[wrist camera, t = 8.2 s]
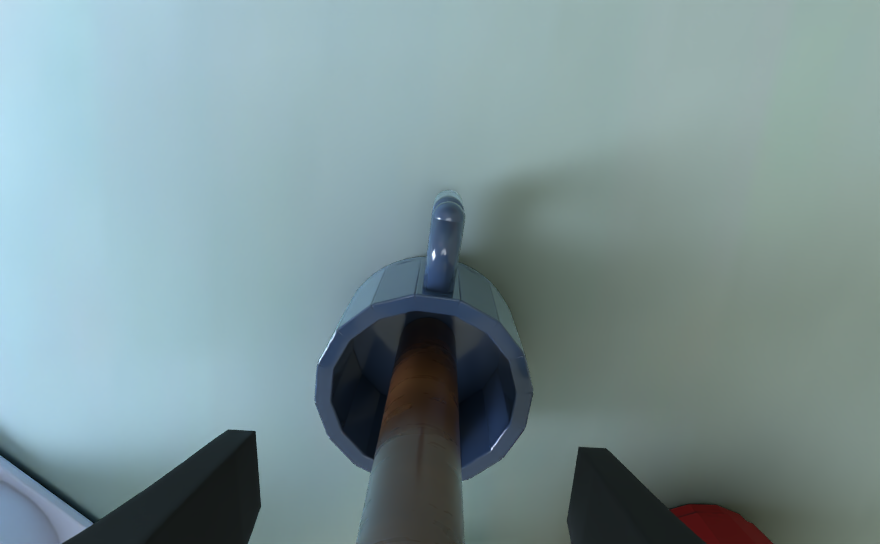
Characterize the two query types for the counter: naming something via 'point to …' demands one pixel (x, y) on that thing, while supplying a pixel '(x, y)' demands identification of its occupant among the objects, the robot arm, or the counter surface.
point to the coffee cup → (477, 350)
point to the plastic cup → (719, 525)
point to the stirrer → (418, 446)
